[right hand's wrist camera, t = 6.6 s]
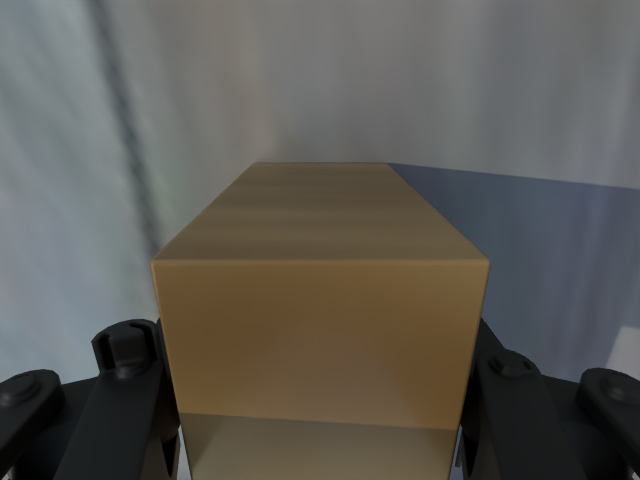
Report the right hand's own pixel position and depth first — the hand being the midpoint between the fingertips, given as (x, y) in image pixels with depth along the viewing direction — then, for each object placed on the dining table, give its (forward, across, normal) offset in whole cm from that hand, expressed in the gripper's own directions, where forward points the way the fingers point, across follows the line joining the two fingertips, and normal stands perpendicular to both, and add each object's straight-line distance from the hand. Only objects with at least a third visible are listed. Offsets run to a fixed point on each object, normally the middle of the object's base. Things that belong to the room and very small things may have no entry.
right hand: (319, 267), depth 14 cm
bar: (+1, 0, -30) cm, 30 cm away
